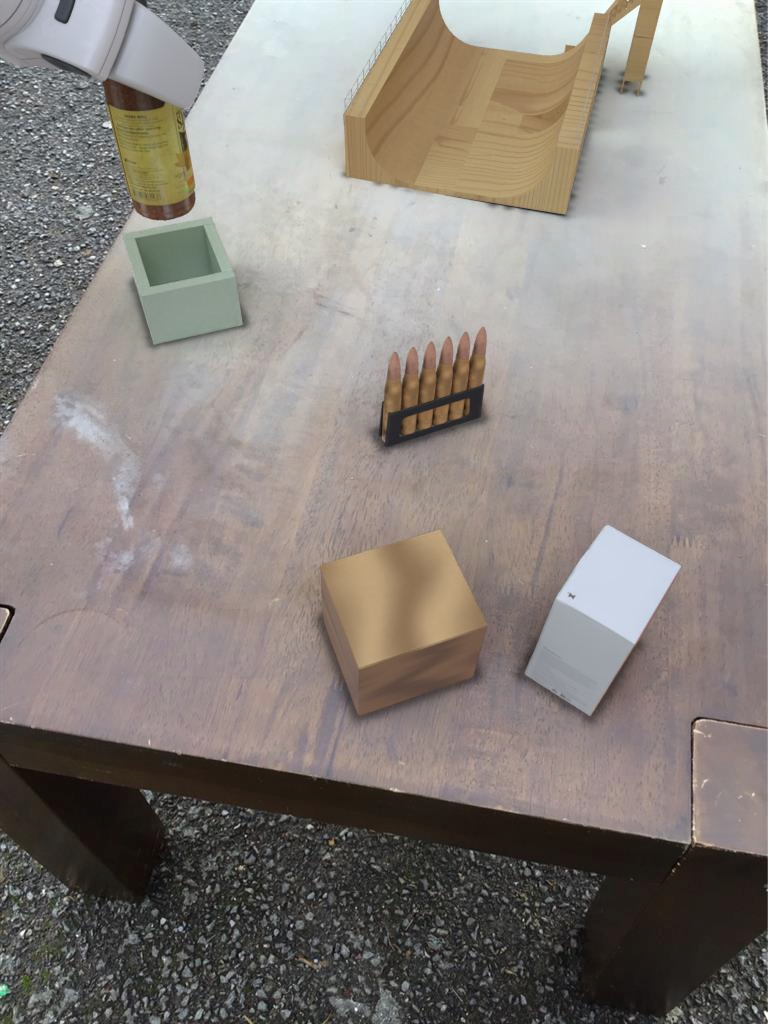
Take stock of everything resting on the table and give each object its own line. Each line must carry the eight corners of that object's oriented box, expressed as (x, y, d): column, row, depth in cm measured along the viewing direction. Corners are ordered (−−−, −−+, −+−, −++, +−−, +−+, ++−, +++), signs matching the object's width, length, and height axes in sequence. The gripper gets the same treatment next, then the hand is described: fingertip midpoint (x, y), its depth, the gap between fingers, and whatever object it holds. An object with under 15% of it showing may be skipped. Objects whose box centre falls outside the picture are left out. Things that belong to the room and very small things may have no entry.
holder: (154, 347, 88) (140, 296, 83) (136, 285, 94) (121, 233, 89) (243, 327, 91) (235, 276, 85) (219, 268, 97) (211, 216, 91)
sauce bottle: (209, 212, 77) (175, -21, 61) (147, 232, 75) (94, -5, 59) (180, 177, 80) (140, -53, 64) (119, 195, 78) (63, -39, 62)
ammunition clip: (472, 407, 85) (487, 317, 75) (480, 419, 84) (497, 330, 74) (378, 437, 82) (381, 348, 72) (385, 450, 81) (389, 361, 71)
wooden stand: (358, 718, 65) (358, 667, 57) (323, 623, 70) (319, 564, 62) (473, 678, 67) (488, 625, 59) (431, 589, 72) (440, 529, 64)
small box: (590, 719, 65) (636, 646, 55) (521, 675, 67) (552, 597, 57) (634, 645, 69) (684, 564, 59) (567, 606, 71) (605, 521, 61)
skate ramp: (419, 49, 131) (423, -67, 118) (642, 78, 126) (672, -40, 113) (346, 185, 109) (341, 60, 96) (613, 229, 103) (647, 102, 90)
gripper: (-97, -5, 60) (45, 78, 73) (108, 80, 54) (223, 154, 66) (-71, -94, 58) (68, 6, 71) (142, -18, 52) (252, 77, 65)
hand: (145, 78), depth 69 cm, fingers closed on sauce bottle, 6 cm apart
